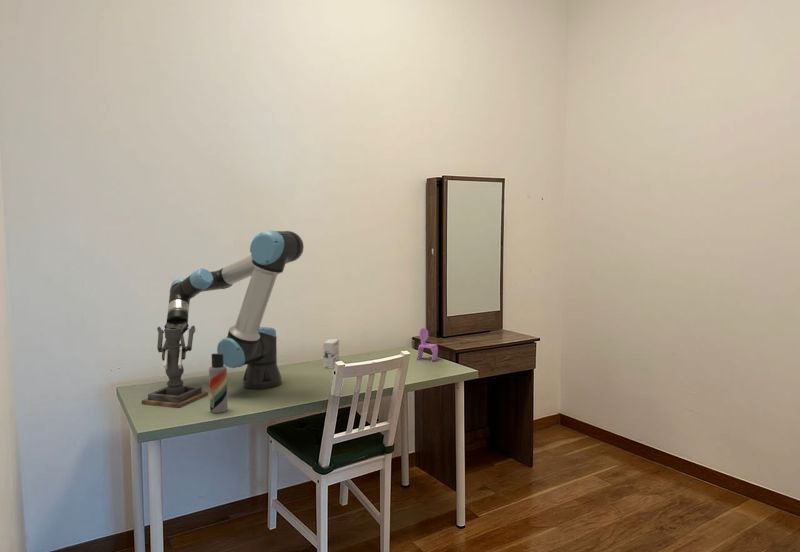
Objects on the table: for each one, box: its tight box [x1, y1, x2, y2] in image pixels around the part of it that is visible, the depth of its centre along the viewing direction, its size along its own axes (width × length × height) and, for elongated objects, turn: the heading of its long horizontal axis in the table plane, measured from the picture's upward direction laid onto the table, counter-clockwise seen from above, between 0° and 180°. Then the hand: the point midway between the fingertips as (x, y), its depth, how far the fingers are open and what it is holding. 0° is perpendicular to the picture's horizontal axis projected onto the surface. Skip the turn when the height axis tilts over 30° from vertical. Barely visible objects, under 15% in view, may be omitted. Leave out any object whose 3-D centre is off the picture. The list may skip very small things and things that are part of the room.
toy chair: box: [415, 327, 439, 362], centre depth 265 cm, size 8×9×15 cm
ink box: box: [322, 338, 340, 369], centre depth 253 cm, size 9×5×12 cm, turn 168°
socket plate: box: [141, 385, 209, 409], centre depth 203 cm, size 16×16×3 cm
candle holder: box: [164, 327, 185, 396], centre depth 203 cm, size 6×6×25 cm
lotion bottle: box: [208, 353, 229, 414], centre depth 190 cm, size 6×6×20 cm
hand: (172, 366), depth 199 cm, fingers closed on candle holder, 4 cm apart
